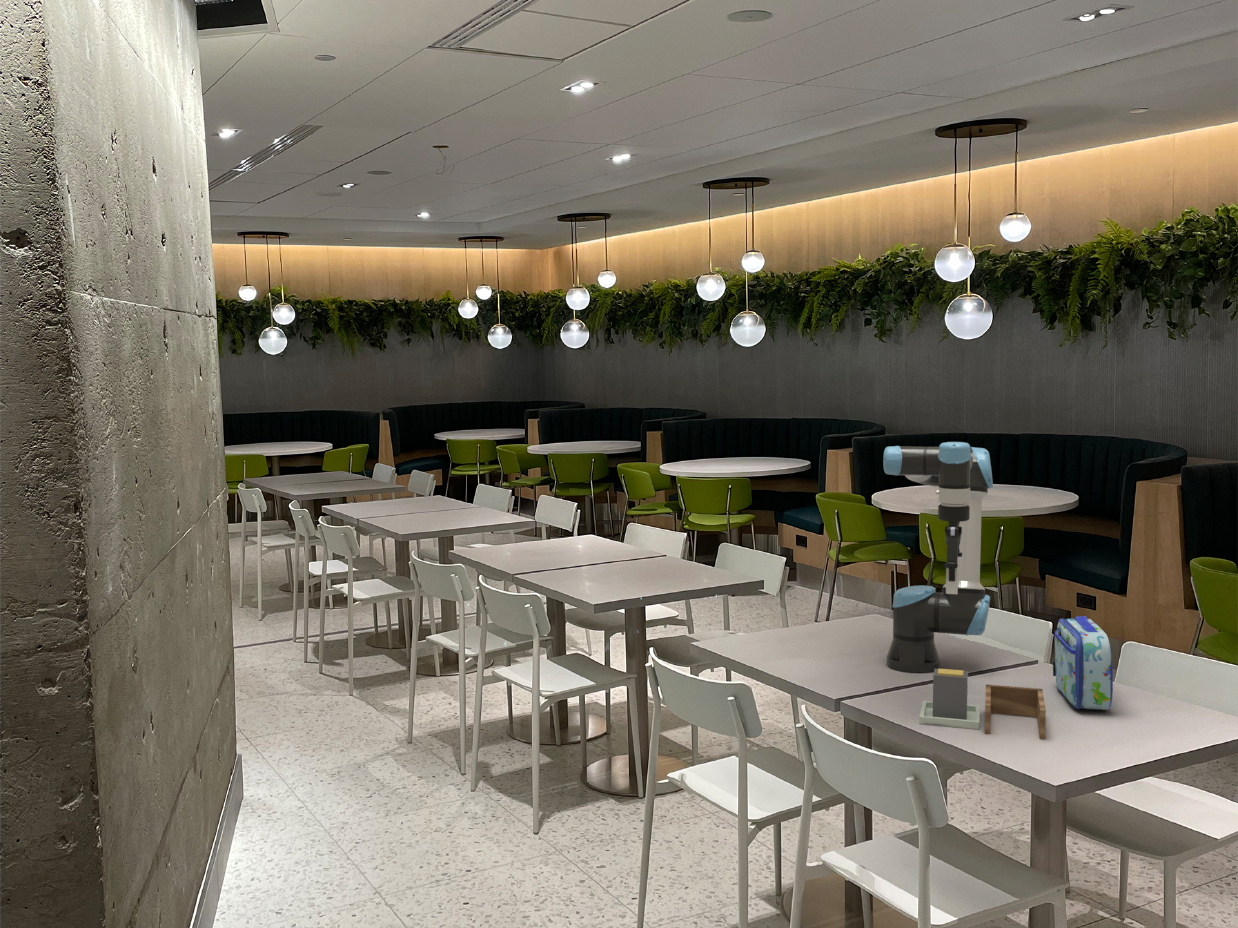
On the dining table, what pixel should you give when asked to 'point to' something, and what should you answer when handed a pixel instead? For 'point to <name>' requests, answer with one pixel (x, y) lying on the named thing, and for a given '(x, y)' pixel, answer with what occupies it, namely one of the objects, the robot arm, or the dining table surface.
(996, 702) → the bay
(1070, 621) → the lunch box
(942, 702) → the grey box yellow panel
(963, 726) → the tray
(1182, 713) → the dining table surface
